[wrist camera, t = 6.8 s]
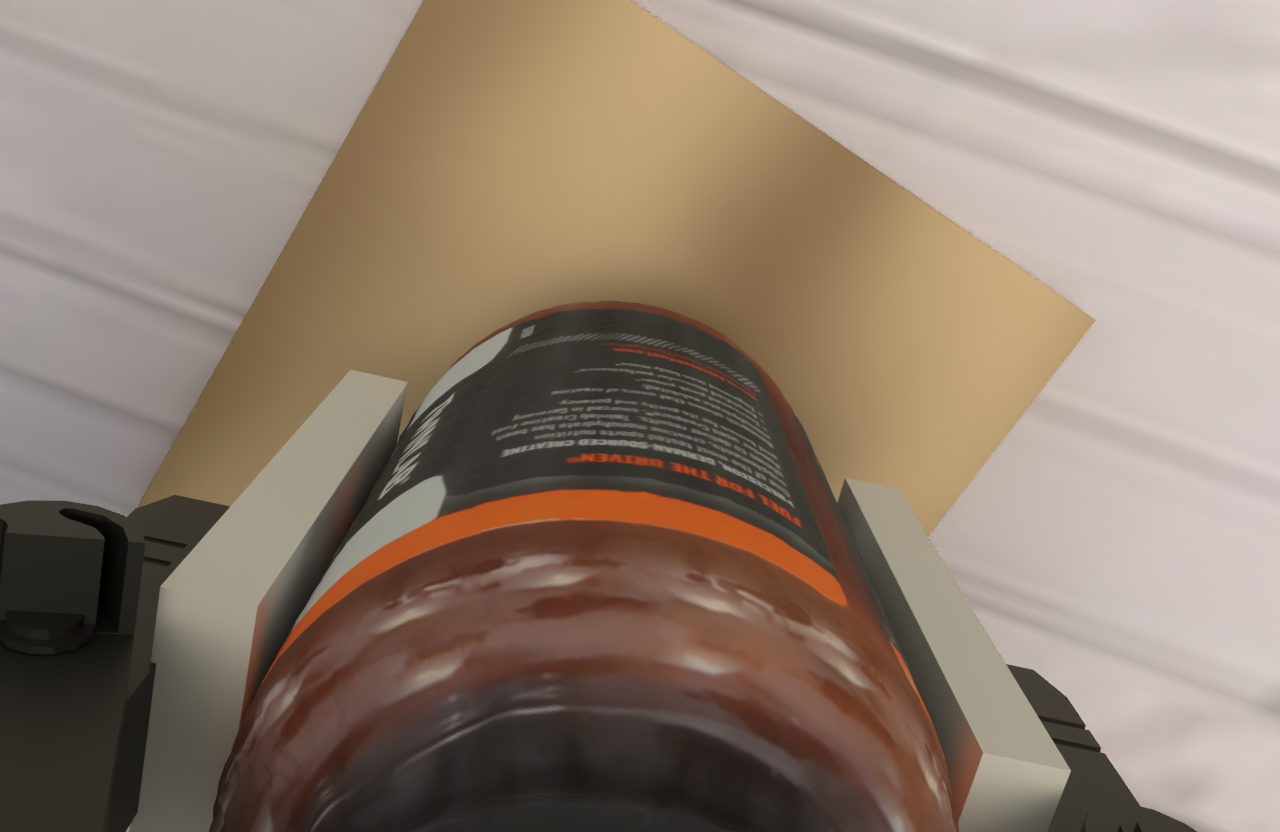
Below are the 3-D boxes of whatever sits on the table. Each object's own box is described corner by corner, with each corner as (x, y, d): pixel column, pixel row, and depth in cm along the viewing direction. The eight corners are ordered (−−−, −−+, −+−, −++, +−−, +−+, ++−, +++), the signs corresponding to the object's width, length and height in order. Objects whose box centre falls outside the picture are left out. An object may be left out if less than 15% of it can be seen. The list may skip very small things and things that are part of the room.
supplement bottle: (348, 346, 17) (-180, 899, 6) (762, 243, 16) (1024, 627, 5) (469, 710, 18) (237, 1658, 8) (847, 625, 18) (1174, 1494, 7)
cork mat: (144, 506, 21) (130, 519, 21) (486, -98, 18) (482, -103, 18) (696, 813, 23) (698, 832, 23) (1082, 312, 21) (1095, 320, 20)
